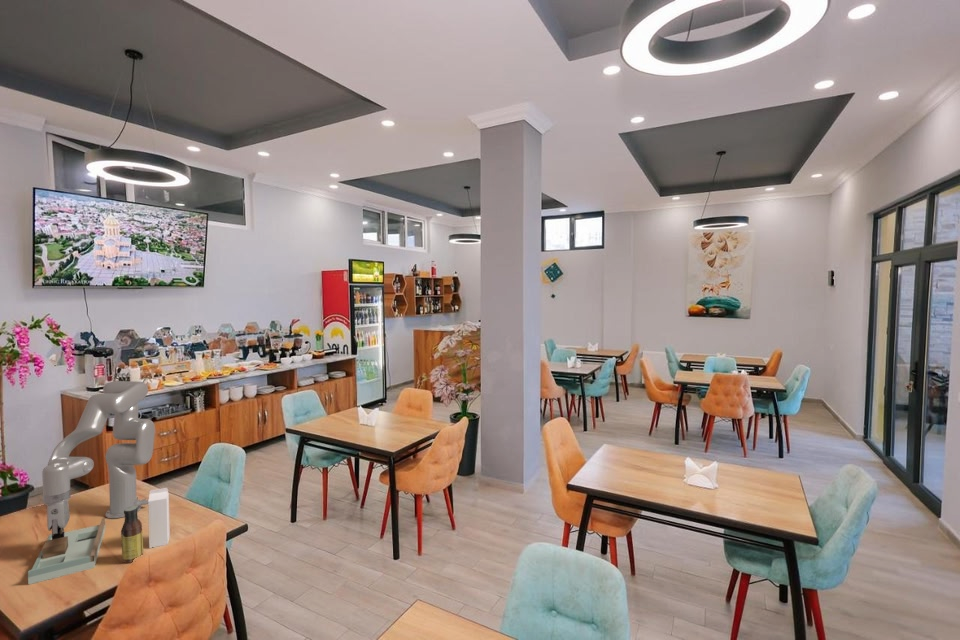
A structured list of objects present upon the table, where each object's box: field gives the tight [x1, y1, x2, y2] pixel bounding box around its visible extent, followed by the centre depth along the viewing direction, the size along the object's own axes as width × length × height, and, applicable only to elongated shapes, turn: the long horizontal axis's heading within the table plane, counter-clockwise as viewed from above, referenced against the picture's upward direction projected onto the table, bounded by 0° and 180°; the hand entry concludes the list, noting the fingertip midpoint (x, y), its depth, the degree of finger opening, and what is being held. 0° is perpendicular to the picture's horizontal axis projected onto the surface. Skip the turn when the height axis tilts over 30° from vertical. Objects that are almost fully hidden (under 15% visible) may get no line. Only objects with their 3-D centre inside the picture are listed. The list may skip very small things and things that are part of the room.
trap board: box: [27, 517, 106, 586], centre depth 168 cm, size 17×32×5 cm, turn 35°
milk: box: [147, 487, 171, 549], centre depth 176 cm, size 6×6×22 cm
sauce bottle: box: [120, 506, 144, 564], centre depth 165 cm, size 7×6×20 cm
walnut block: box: [41, 536, 68, 559], centre depth 164 cm, size 6×6×4 cm
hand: (58, 543), depth 169 cm, fingers closed
